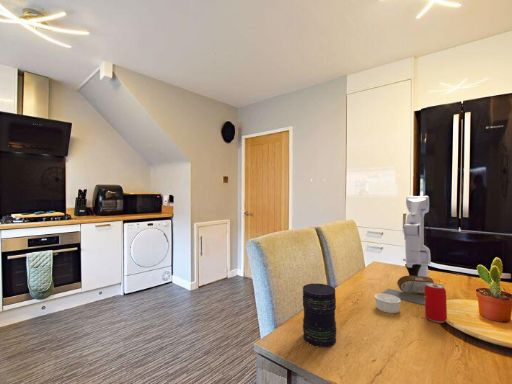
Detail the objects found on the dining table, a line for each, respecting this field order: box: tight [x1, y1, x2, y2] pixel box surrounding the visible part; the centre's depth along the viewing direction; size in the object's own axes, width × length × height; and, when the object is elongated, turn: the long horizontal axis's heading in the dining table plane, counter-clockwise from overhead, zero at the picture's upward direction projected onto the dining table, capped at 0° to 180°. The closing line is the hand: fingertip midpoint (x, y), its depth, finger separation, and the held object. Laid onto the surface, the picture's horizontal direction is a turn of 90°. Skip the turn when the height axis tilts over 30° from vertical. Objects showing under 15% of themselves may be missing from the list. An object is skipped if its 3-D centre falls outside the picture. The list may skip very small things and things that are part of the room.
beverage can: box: [424, 282, 448, 324], centre depth 88 cm, size 6×6×12 cm
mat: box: [380, 288, 425, 306], centre depth 109 cm, size 10×20×1 cm, turn 46°
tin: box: [396, 275, 435, 295], centre depth 112 cm, size 15×3×8 cm, turn 84°
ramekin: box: [374, 293, 402, 314], centre depth 97 cm, size 9×9×4 cm
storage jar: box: [302, 283, 337, 349], centre depth 77 cm, size 10×10×15 cm
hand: (413, 280), depth 114 cm, fingers closed
